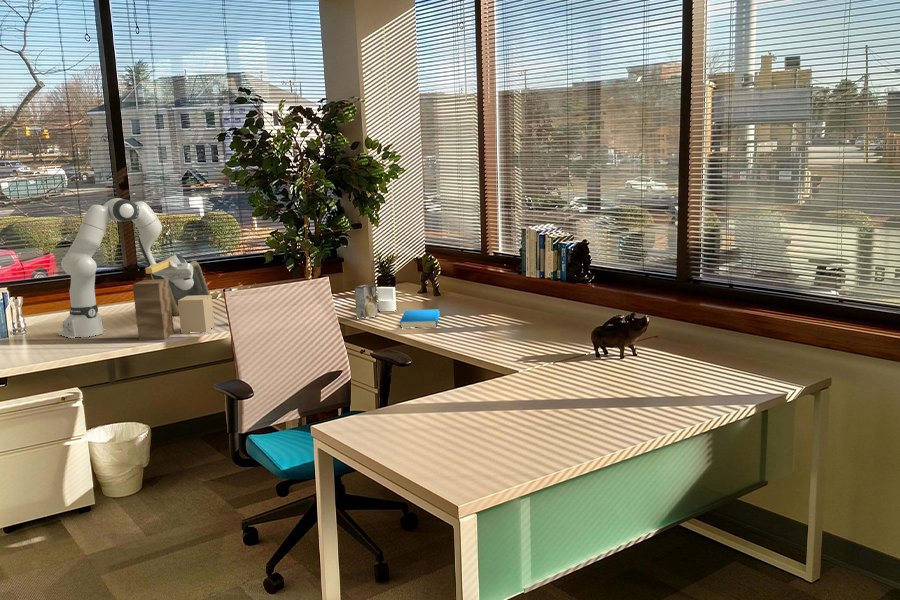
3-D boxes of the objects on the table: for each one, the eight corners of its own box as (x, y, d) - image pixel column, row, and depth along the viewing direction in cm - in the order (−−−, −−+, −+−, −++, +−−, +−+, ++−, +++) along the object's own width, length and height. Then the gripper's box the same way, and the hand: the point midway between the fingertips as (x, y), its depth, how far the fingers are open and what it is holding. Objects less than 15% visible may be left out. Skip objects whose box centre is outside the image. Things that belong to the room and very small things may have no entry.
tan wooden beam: (167, 265, 412) (166, 260, 412) (173, 264, 412) (172, 259, 411) (145, 273, 387) (145, 268, 386) (152, 273, 386) (151, 267, 386)
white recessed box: (376, 312, 428) (374, 289, 426) (382, 308, 436) (381, 285, 434) (392, 312, 425) (391, 289, 423) (399, 309, 433) (397, 286, 431)
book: (400, 321, 387) (404, 309, 411) (400, 330, 388) (405, 318, 412) (437, 319, 386) (439, 308, 411) (437, 329, 387) (439, 317, 412)
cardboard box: (190, 328, 408) (186, 295, 406) (214, 327, 408) (211, 295, 405) (181, 333, 397) (177, 300, 394) (206, 333, 396) (202, 299, 393)
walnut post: (149, 334, 399) (143, 280, 394) (174, 333, 398) (168, 279, 394) (138, 340, 387) (132, 284, 383) (164, 339, 387) (158, 283, 382)
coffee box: (368, 315, 421) (366, 283, 418) (378, 316, 417) (376, 284, 414) (356, 318, 414) (354, 286, 411) (365, 320, 410) (363, 287, 407)
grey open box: (181, 316, 439) (176, 269, 434) (157, 316, 443) (152, 269, 438) (214, 304, 470) (209, 260, 465) (192, 304, 473) (187, 260, 469)
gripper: (156, 268, 420) (144, 258, 407) (196, 266, 419) (186, 256, 406) (154, 280, 418) (143, 270, 405) (195, 278, 417) (185, 268, 404)
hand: (165, 263), depth 406 cm, fingers closed on tan wooden beam, 3 cm apart
